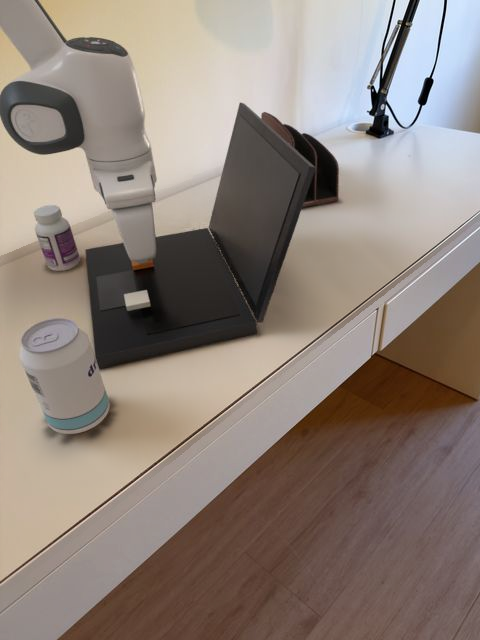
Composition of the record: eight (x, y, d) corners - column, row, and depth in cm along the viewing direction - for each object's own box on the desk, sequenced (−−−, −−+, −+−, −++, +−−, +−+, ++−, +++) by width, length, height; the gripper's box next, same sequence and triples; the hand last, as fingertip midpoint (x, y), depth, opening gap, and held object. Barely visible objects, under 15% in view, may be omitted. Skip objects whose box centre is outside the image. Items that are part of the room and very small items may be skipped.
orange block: (133, 270, 81) (132, 265, 81) (131, 260, 84) (130, 256, 83) (153, 266, 82) (153, 262, 81) (151, 257, 84) (150, 252, 84)
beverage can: (115, 429, 59) (88, 345, 51) (51, 447, 57) (13, 363, 49) (107, 390, 64) (81, 308, 56) (48, 405, 62) (13, 323, 54)
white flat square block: (127, 311, 71) (126, 306, 71) (125, 298, 74) (123, 294, 73) (150, 306, 72) (149, 301, 72) (147, 294, 75) (146, 289, 74)
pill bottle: (79, 253, 91) (64, 200, 85) (81, 268, 87) (65, 213, 81) (47, 259, 90) (29, 206, 84) (47, 274, 86) (28, 219, 80)
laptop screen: (309, 166, 59) (316, 167, 59) (239, 102, 81) (244, 103, 82) (256, 322, 70) (262, 322, 70) (207, 227, 92) (212, 228, 93)
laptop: (99, 369, 67) (95, 356, 65) (88, 259, 89) (85, 248, 88) (257, 334, 71) (256, 321, 70) (208, 238, 94) (207, 227, 92)
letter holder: (290, 210, 101) (289, 134, 92) (261, 175, 116) (258, 106, 107) (338, 202, 103) (342, 127, 94) (304, 168, 118) (304, 100, 109)
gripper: (96, 152, 81) (116, 234, 89) (105, 202, 65) (128, 296, 74) (137, 146, 82) (153, 227, 91) (155, 194, 67) (172, 287, 75)
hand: (142, 259), depth 82 cm, fingers closed, pressing on orange block
